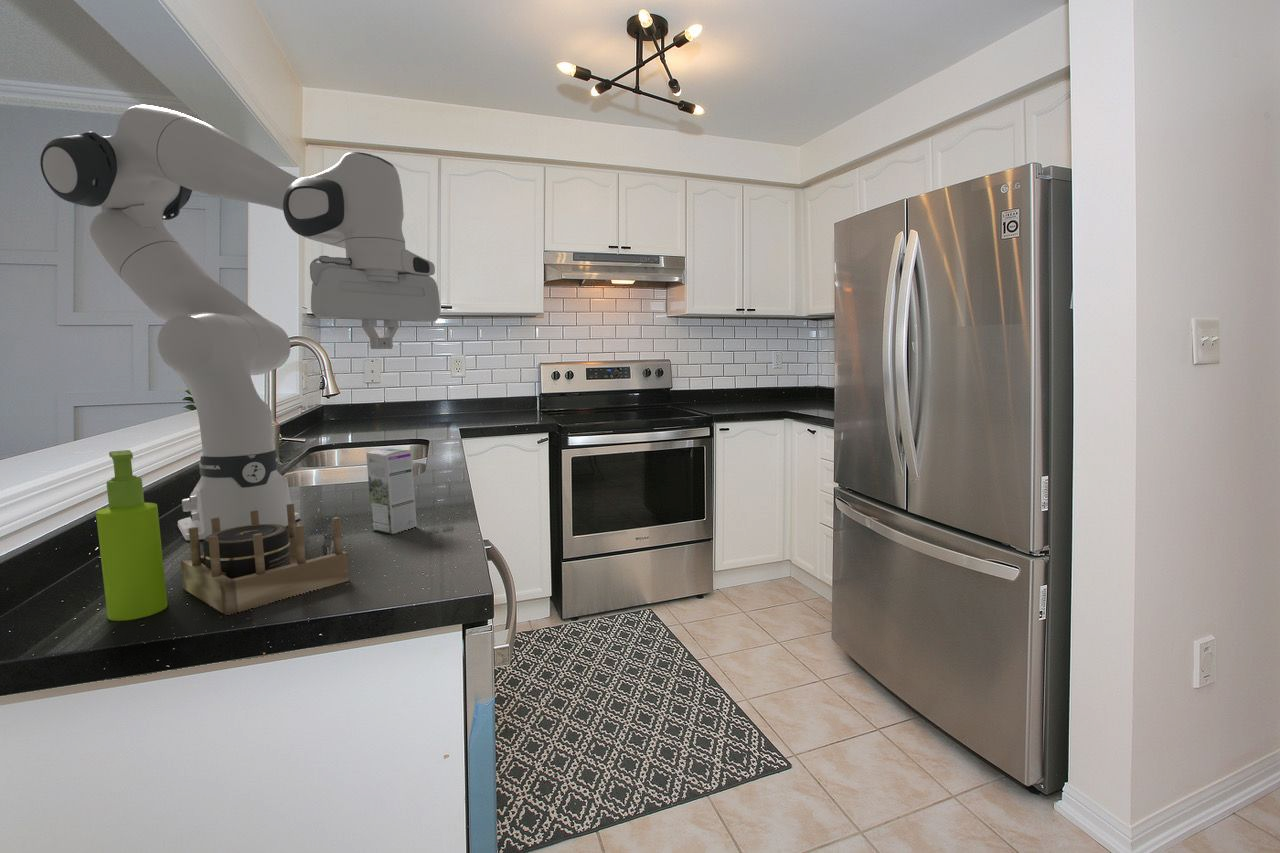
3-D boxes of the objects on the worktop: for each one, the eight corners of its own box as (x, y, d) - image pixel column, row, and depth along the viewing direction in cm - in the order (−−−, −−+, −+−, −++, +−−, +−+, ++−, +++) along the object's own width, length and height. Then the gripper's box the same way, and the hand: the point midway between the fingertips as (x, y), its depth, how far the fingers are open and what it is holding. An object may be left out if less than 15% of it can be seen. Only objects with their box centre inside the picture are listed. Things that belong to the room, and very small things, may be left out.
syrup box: (418, 527, 117) (413, 448, 116) (390, 535, 112) (385, 453, 111) (397, 523, 120) (393, 447, 119) (370, 531, 115) (364, 451, 114)
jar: (188, 600, 83) (183, 543, 82) (240, 574, 93) (236, 523, 92) (263, 601, 82) (258, 543, 82) (307, 574, 92) (303, 522, 92)
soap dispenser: (162, 596, 84) (147, 446, 82) (170, 611, 79) (154, 451, 77) (105, 609, 80) (87, 451, 78) (109, 625, 75) (91, 457, 73)
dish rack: (183, 588, 87) (177, 524, 86) (299, 560, 99) (294, 502, 98) (227, 615, 78) (220, 543, 77) (349, 580, 90) (344, 517, 89)
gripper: (318, 251, 92) (325, 348, 93) (443, 265, 107) (447, 348, 109) (299, 256, 96) (306, 349, 97) (422, 269, 111) (426, 349, 113)
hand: (381, 349), depth 103 cm, fingers closed
